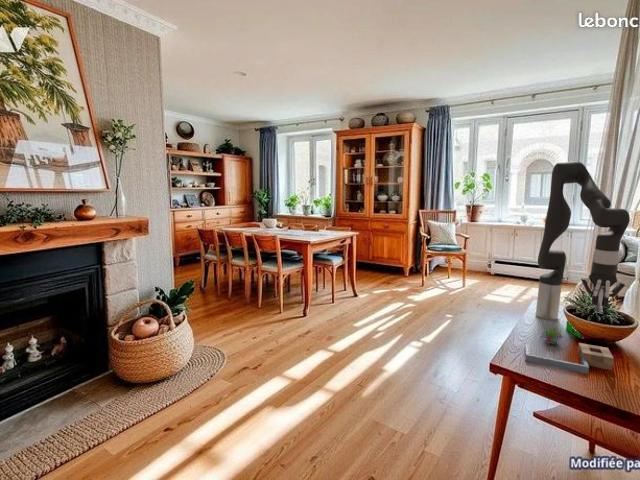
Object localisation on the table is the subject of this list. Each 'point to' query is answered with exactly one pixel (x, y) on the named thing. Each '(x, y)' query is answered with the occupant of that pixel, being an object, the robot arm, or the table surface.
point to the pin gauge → (600, 299)
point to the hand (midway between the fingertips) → (599, 305)
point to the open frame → (557, 362)
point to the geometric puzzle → (552, 336)
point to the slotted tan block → (596, 356)
